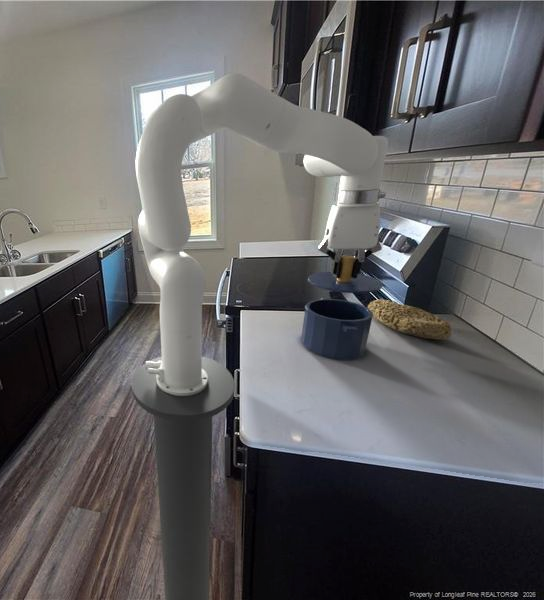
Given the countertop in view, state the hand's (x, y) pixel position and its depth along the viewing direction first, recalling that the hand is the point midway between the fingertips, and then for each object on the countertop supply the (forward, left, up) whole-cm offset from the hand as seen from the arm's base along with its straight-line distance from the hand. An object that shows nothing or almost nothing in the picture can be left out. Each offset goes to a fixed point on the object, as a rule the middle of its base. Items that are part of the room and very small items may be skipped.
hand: (344, 276), depth 77 cm
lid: (0, 0, -2) cm, 2 cm away
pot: (0, 0, -19) cm, 19 cm away
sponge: (+22, +12, -20) cm, 32 cm away
